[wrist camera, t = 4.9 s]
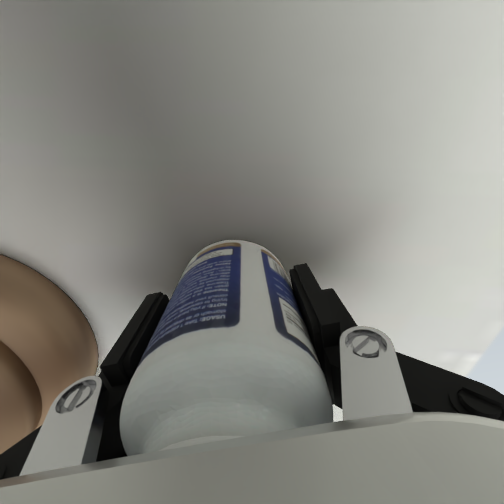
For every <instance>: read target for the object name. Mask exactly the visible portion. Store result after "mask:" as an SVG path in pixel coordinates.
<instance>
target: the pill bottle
mask: <svg viewBox="0 0 504 504" xmlns="http://www.w3.org/2000/svg"><path fill="white" fill-rule="evenodd" d="M332 422H333V406H332V400H331V396H330V393H329V389H328V386H327V382H326V379H325V376H324V373H323V371H322V369H321V366H320V363H319V361H318V358H317V355H316V352H315V349H314V347H313V344H312V341H311V339H310V336H309V333H308V330H307V327H306V325H305V322H304V320H303V317H302V314H301V312H300V309H299V306H298V303H297V301H296V298H295V296H294V293H293V290H292V287H291V284H290V281H289V279H288V276H287V274H286V272H285V270H284V268H283V266H282V264H281V263H280V261H279V260H278V259H277V258H276V257H275V256H274V255H273V254H272V253H271V252H270V251H269V250H267V249H266V248H264V247H263V246H260V245H258V244H255V243H252V242H248V241H244V240H224V241H220V242H217V243H214V244H211V245H209V246H207V247H205V248H204V249H202V250H201V251H199V252H198V253H197V254H196V255H195V256H194V257H193V258H192V260H191V261H190V262H189V264H188V265H187V267H186V269H185V270H184V272H183V274H182V276H181V278H180V280H179V282H178V285H177V287H176V289H175V291H174V293H173V295H172V297H171V299H170V301H169V303H168V305H167V307H166V309H165V311H164V313H163V315H162V317H161V319H160V321H159V324H158V326H157V328H156V330H155V332H154V334H153V336H152V338H151V339H150V342H149V344H148V346H147V348H146V350H145V352H144V354H143V356H142V359H141V361H140V363H139V365H138V367H137V369H136V371H135V373H134V375H133V377H132V379H131V381H130V384H129V386H128V389H127V391H126V393H125V396H124V399H123V403H122V407H121V413H120V435H121V440H122V443H123V447H124V449H125V452H126V454H127V456H133V455H138V454H144V453H150V452H156V451H162V450H168V449H174V448H180V447H185V446H191V445H197V444H203V443H209V442H215V441H221V440H227V439H233V438H239V437H245V436H251V435H257V434H264V433H270V432H276V431H282V430H288V429H294V428H300V427H306V426H313V425H319V424H325V423H332Z"/></svg>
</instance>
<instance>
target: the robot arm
mask: <svg viewBox="0 0 504 504" xmlns="http://www.w3.org/2000/svg"><path fill="white" fill-rule="evenodd" d="M290 276H291V283H292V289H293V293H294V296H295V298H296V301H297V303H298V306H299V309H300V312H301V314H302V317H303V320H304V322H305V325H306V327H307V330H308V333H309V336H310V339H311V341H312V344H313V347H314V349H315V352H316V355H317V358H318V361H319V363H320V366H321V369H322V371H323V373H324V376H325V379H326V382H327V386H328V389H329V393H330V396H331V400H332V405H333V404H335V405H336V406H338V407H339V408H341V409H343V421H339V422H332V423H325V424H319V425H313V426H306V427H300V428H294V429H288V430H282V431H276V432H270V433H264V434H257V435H251V436H245V437H239V438H233V439H227V440H221V441H215V442H209V443H203V444H197V445H191V446H185V447H180V448H174V449H168V450H162V451H156V452H150V453H144V454H138V455H133V456H127V454H126V452H125V449H124V447H123V443H122V440H121V435H120V413H121V407H122V403H123V399H124V396H125V393H126V391H127V389H128V386H129V384H130V381H131V379H132V377H133V375H134V373H135V371H136V369H137V367H138V365H139V363H140V361H141V359H142V356H143V354H144V352H145V350H146V348H147V346H148V344H149V342H150V339H151V338H152V336H153V334H154V332H155V330H156V328H157V326H158V324H159V321H160V319H161V317H162V315H163V313H164V311H165V309H166V307H167V305H168V303H169V298H168V296H167V295H166V294H165V295H163V293H161V292H159V293H154V294H149V295H147V296H146V298H145V299H144V301H143V302H142V304H141V305H140V307H139V308H138V310H137V311H136V313H135V314H134V316H133V317H132V319H131V320H130V322H129V323H128V325H127V326H126V328H125V329H124V331H123V332H122V334H121V335H120V337H119V338H118V340H117V341H116V343H115V344H114V346H113V347H112V349H111V350H110V352H109V353H108V355H107V356H106V358H105V360H104V361H103V363H102V364H101V366H100V368H101V370H102V371H101V373H100V374H99V376H88V377H84V378H82V379H80V380H78V381H76V382H74V383H73V384H71V385H70V386H68V387H67V388H66V389H65V390H63V391H62V392H61V393H60V394H59V395H58V397H57V398H56V399H55V400H54V402H53V403H52V405H51V407H50V409H49V411H48V413H47V416H46V418H45V420H44V422H43V424H42V425H41V426H40V427H38V428H37V429H36V430H34V431H33V432H31V433H30V434H29V435H27V436H26V437H24V438H23V439H22V440H20V441H19V442H17V443H16V444H15V445H13V446H12V447H10V448H9V449H7V450H6V451H5V452H3V453H2V454H0V504H504V395H503V394H501V393H500V392H498V391H496V390H495V389H493V388H491V387H489V386H487V385H485V384H482V383H480V382H477V381H474V380H472V379H469V378H466V377H464V376H461V375H458V374H455V373H453V372H450V371H447V370H444V369H442V368H439V367H436V366H433V365H431V364H428V363H425V362H423V361H420V360H417V359H414V358H412V357H409V356H406V355H403V354H401V353H398V352H395V349H394V346H393V343H392V341H391V339H390V338H389V337H388V336H387V335H386V334H385V333H383V332H381V331H380V330H378V329H375V328H372V327H366V326H357V324H356V323H355V321H354V320H353V318H352V317H351V315H350V314H349V312H348V311H347V309H346V308H345V306H344V305H343V303H342V302H341V300H340V299H339V297H338V296H337V294H336V293H335V291H334V290H333V289H332V288H330V289H325V290H321V288H320V286H319V284H318V283H317V281H316V279H315V277H314V276H313V274H312V272H311V270H310V269H309V267H308V265H307V264H306V263H305V264H300V265H295V266H294V269H291V270H290Z"/></svg>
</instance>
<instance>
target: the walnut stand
mask: <svg viewBox="0 0 504 504" xmlns="http://www.w3.org/2000/svg"><path fill="white" fill-rule="evenodd" d="M97 366H98V350H97V344H96V340H95V337H94V334H93V332H92V329H91V327H90V325H89V323H88V321H87V320H86V318H85V317H84V315H83V313H82V312H81V311H80V309H79V308H78V307H77V306H76V305H75V303H74V302H73V301H72V300H71V299H70V298H69V297H68V296H67V295H66V294H65V293H64V292H63V291H62V290H61V289H60V288H58V287H57V286H56V285H55V284H54V283H52V282H51V281H50V280H48V279H47V278H45V277H44V276H42V275H41V274H39V273H38V272H36V271H35V270H33V269H31V268H29V267H27V266H25V265H24V264H22V263H20V262H18V261H15V260H13V259H10V258H8V257H6V256H3V255H0V454H2V453H3V452H5V451H6V450H7V449H9V448H10V447H12V446H13V445H15V444H16V443H17V442H19V441H20V440H22V439H23V438H24V437H26V436H27V435H29V434H30V433H31V432H33V431H34V430H36V429H37V428H38V427H40V426H41V425H42V424H43V422H44V420H45V418H46V416H47V413H48V411H49V409H50V407H51V405H52V403H53V402H54V400H55V399H56V398H57V397H58V395H59V394H60V393H61V392H62V391H63V390H65V389H66V388H67V387H68V386H70V385H71V384H73V383H74V382H76V381H78V380H80V379H82V378H84V377H88V376H95V374H96V370H97Z"/></svg>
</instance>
